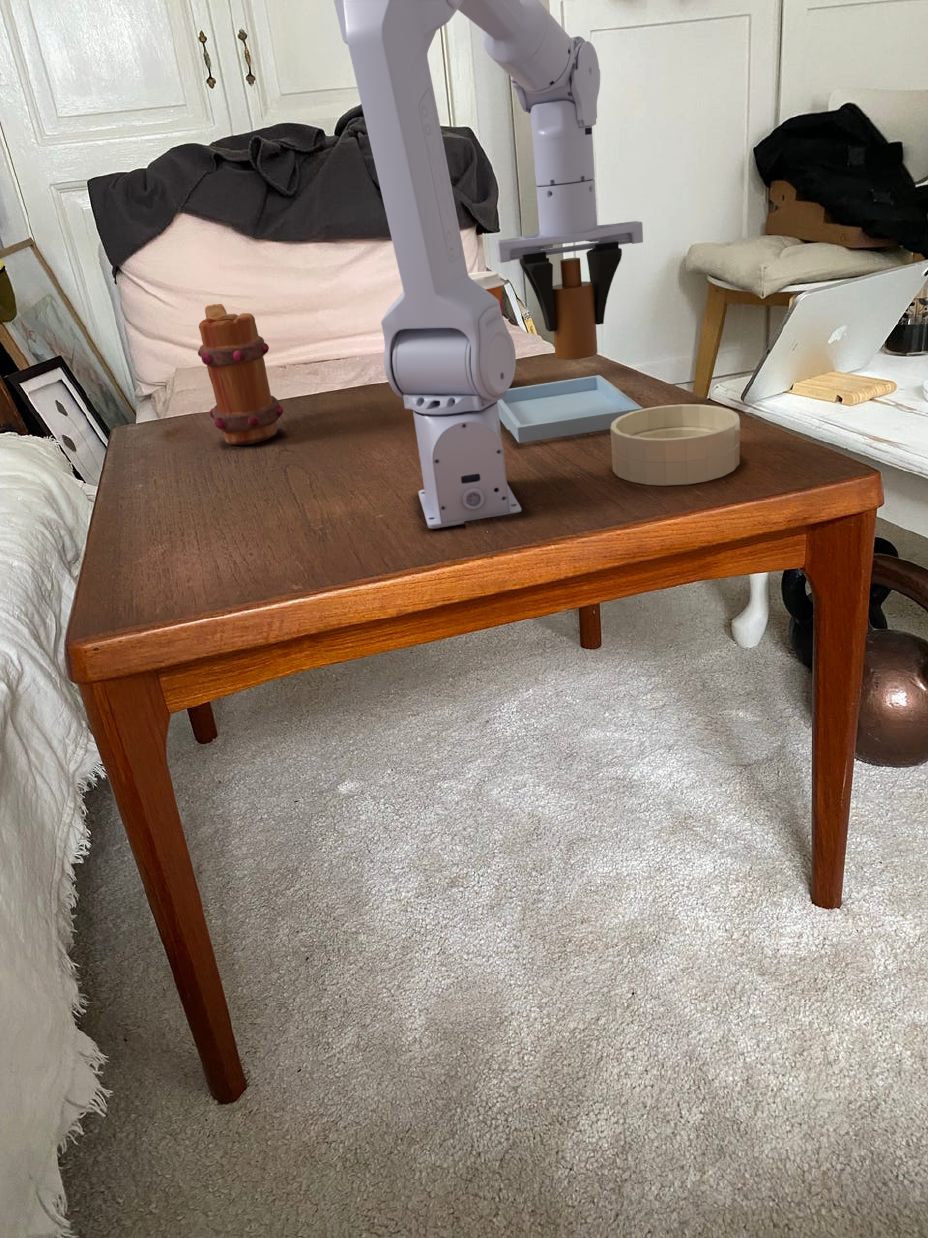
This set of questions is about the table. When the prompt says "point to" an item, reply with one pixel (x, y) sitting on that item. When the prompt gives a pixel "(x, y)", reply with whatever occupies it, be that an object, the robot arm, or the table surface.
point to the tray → (563, 408)
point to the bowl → (675, 444)
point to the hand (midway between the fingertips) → (574, 326)
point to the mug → (238, 376)
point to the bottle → (574, 314)
